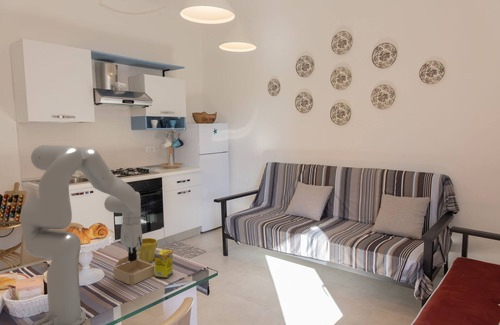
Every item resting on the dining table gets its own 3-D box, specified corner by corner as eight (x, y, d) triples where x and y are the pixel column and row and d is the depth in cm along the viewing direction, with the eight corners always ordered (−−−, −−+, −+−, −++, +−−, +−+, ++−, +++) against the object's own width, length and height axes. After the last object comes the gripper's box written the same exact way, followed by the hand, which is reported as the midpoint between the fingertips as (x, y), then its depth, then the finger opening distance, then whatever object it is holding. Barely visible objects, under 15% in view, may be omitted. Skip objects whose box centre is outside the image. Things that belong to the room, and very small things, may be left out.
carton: (131, 286, 145) (131, 275, 144) (113, 278, 152) (112, 268, 151) (156, 274, 156) (156, 264, 155) (138, 268, 163) (137, 258, 162)
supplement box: (167, 279, 151) (167, 255, 150) (154, 277, 153) (154, 253, 151) (173, 273, 157) (172, 250, 156) (160, 272, 158) (160, 249, 157)
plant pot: (161, 260, 172) (161, 241, 171) (142, 266, 164) (141, 246, 163) (151, 254, 179) (150, 236, 178) (132, 260, 172) (131, 240, 171)
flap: (120, 259, 150) (119, 259, 150) (115, 266, 152) (114, 266, 153) (140, 252, 159) (139, 251, 159) (135, 258, 161) (134, 258, 161)
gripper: (114, 218, 153) (115, 259, 155) (134, 224, 144) (135, 267, 146) (129, 215, 159) (130, 254, 161) (149, 221, 150) (150, 262, 152)
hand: (132, 260), depth 154 cm, fingers closed
